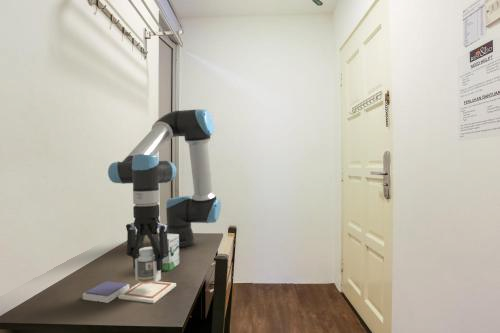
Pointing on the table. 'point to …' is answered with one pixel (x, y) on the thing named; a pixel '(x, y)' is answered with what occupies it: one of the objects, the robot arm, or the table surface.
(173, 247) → the ink box
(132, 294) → the print card
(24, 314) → the table surface
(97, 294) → the ink pad
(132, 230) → the robot arm
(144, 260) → the pill bottle
